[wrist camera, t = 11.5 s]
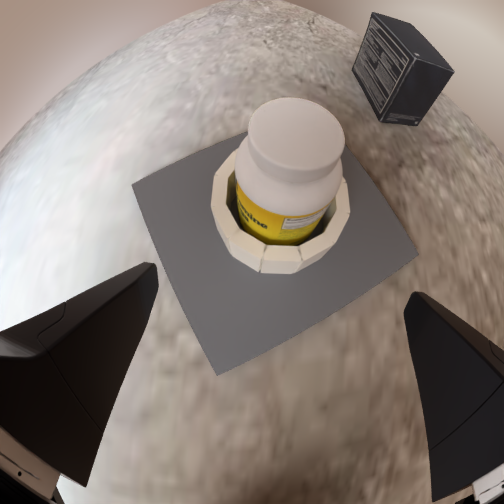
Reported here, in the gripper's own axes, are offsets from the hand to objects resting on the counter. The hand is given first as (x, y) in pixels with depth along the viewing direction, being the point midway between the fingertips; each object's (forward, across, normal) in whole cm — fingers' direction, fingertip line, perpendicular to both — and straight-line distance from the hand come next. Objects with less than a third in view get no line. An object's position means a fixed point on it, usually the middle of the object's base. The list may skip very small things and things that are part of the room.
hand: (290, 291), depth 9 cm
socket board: (+15, 0, +4) cm, 15 cm away
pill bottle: (+14, 0, +3) cm, 14 cm away
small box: (+29, -13, -10) cm, 33 cm away
